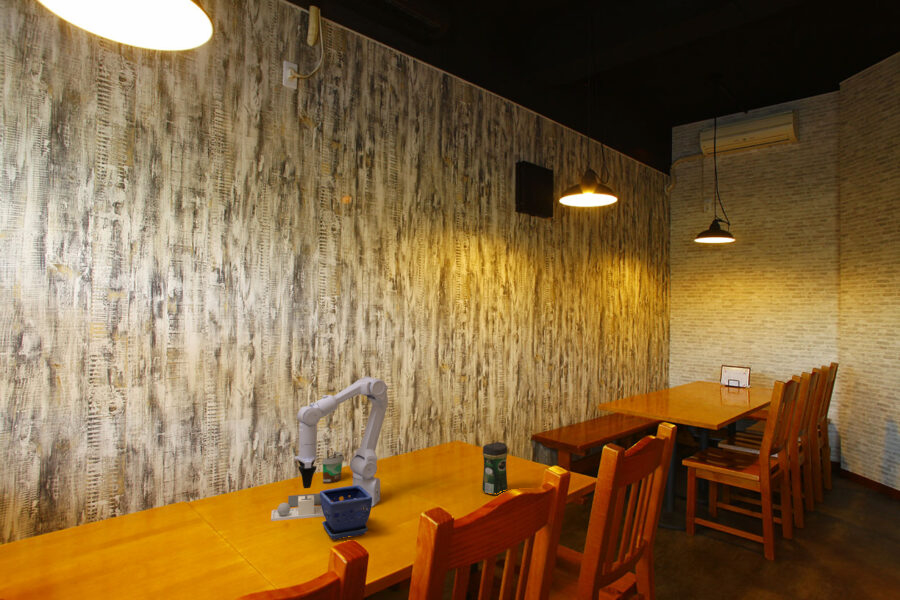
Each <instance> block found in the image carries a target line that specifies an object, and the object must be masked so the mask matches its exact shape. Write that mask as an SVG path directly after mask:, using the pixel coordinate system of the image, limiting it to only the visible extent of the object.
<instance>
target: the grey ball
mask: <svg viewBox="0 0 900 600" xmlns="http://www.w3.org/2000/svg"><path fill="white" fill-rule="evenodd" d="M290 509H291V507H290V506H289V504H288V502H282V503H280V504H279V505H278V506H277V510H278V513H279V515H281V516H285V515H287V514H288V513H289V512H290Z"/></svg>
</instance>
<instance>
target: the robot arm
mask: <svg viewBox="0 0 900 600" xmlns="http://www.w3.org/2000/svg"><path fill="white" fill-rule="evenodd" d="M388 388H389V387H388V385H387V384H386V382H385V381H384V379H381V378H375V377H371V376H364V377H362V378H361V379H357V380H356V381H355V382H354V383H352V384H350V385H349V386H347V387H346V388H344V389H342V390H341V391H339V392H338V393H336V394H334V395H331V394H323V395H322V396H321V397H322V398H320V399H319V400H316V401H315V402H313V401H312V402H311V403H309V405H305V406H302V407H301V408H300V409H299V410H298V412H297V414H296V419H297V421H298V422H299V431H298V455H296V456H294V460H296V461H297V460H298V464H299V466H298V471H299V473H300V476H301V479H302V481H301V482H302V487H303V489H310V488H311V487H312V481H313V477H314V474H315V472H316V470H317V466H316V465H315V466H314V464H315V462H316V460H317V459H318V456H317V439H318V438H317V437H318V436H317V435H318V424H319V422H320V421H321V419H322V418H324V417H326V416H328V415H329V414H332V413H333V412H334V411H336V410H337V409H338V407H339V405H340V404H342V403H344V402H346V401H348V400H351V399H352V398H353V397H355V396H358V395H364V396H366V397H367V398H368V400H369V402H370V403H371V408H370V412H369V415H368V419H367V422H366V426H365V430H364V433H363V437H362V440H361V444H360V447H359V448H358V449H356V451H355V452H354V453H355V454H354V456H353V457H352V458H351V460H350V463H349V468H350V470H351V472H352V486H355V485H359V486H361V487H362V488H363V489H364V490H365V491H367V492H368V493H369V494H370V495H371V497H372V506H371V508H372V507H374V506H376V505H377V504H378V503H379V502H380V501H381V499H382V498H381V479H380V478H378V477H375V475H376V473H377V470H378V466H377V465H378V464H377V462H378V456H377V452H376V450H377V449H376V448H377V446H378V441H379V438H380V434H381V430H382V427H383V424H384V420H385V415H386V412H387V408H388V405H389V400H388V393H387V392H388ZM354 499H356V498H354Z"/></svg>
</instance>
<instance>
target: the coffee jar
mask: <svg viewBox="0 0 900 600" xmlns="http://www.w3.org/2000/svg"><path fill="white" fill-rule="evenodd" d="M482 457H483V475H482V489H481V490H483V491H484V492H486V493H492V494H494V493H496V494H497V493H499V492H500V491H502V492H501V493H502V494H504V493H506V492H507V491H508V478H507V477H508V475H507V473H508V472H507V457H508V446H507V444H506V443H504V442H501V441H496V442H492V443H488V444H484V445H483V446H482ZM506 489H507V490H506ZM503 490H506V492H505V491H503ZM483 491H482V492H483ZM484 492H483V493H484ZM503 492H504V493H503ZM486 493H485V494H486ZM501 493H499V495H502V494H501Z"/></svg>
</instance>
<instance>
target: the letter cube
mask: <svg viewBox="0 0 900 600" xmlns="http://www.w3.org/2000/svg"><path fill="white" fill-rule="evenodd" d="M314 507H315V505H314V495H309V496H298V507H297V508H298V516H299V515H310V514H314Z"/></svg>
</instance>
